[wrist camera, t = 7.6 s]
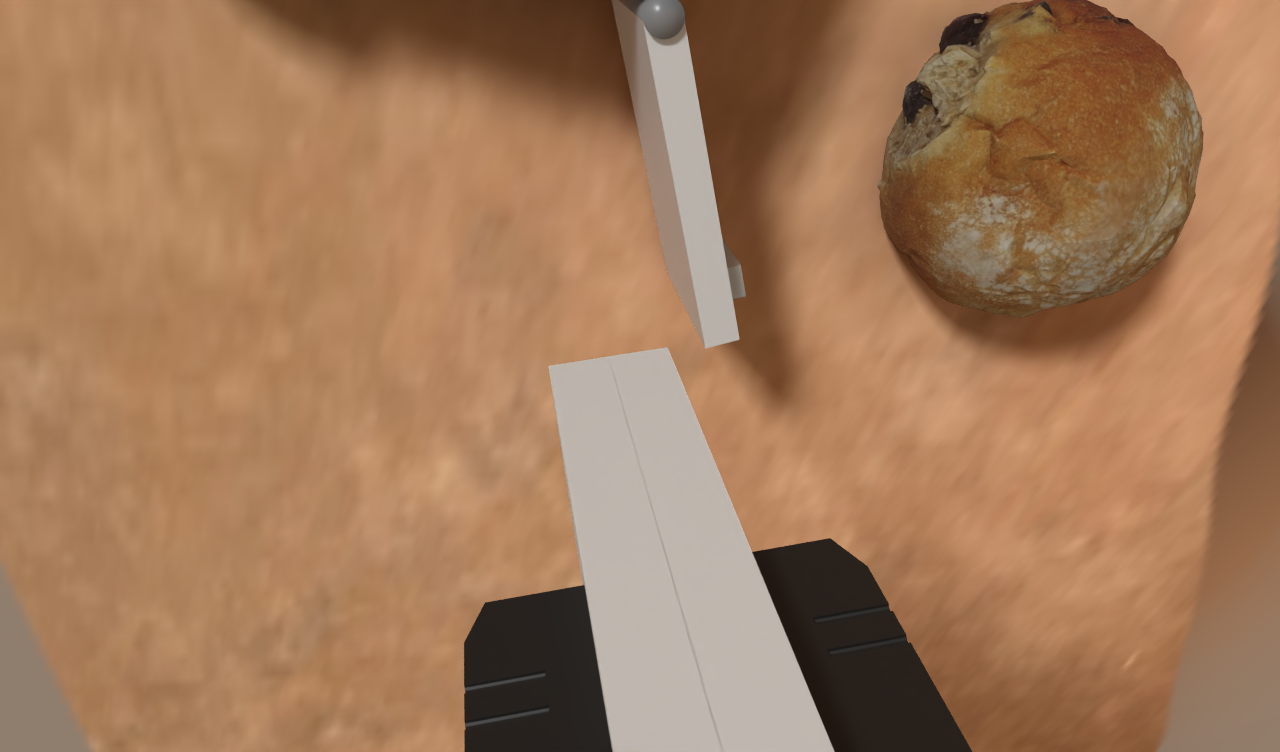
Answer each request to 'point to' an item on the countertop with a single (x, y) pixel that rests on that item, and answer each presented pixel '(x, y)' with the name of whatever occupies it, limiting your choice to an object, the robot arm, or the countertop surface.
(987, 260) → the bread roll
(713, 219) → the side door
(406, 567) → the countertop surface
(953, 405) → the countertop surface
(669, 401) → the robot arm
